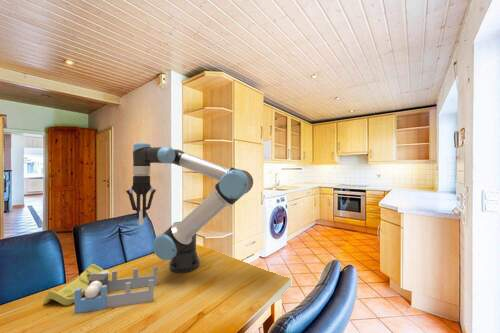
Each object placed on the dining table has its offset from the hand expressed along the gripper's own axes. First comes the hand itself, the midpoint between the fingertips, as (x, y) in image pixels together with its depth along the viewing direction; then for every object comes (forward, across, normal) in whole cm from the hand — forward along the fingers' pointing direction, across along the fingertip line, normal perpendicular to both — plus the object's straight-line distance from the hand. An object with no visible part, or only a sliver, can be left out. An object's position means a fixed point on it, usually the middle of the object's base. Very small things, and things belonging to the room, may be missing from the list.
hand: (141, 224), depth 105 cm
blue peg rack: (+24, +4, +17) cm, 30 cm away
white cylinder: (+20, +12, +17) cm, 29 cm away
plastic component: (+25, +22, +9) cm, 34 cm away
